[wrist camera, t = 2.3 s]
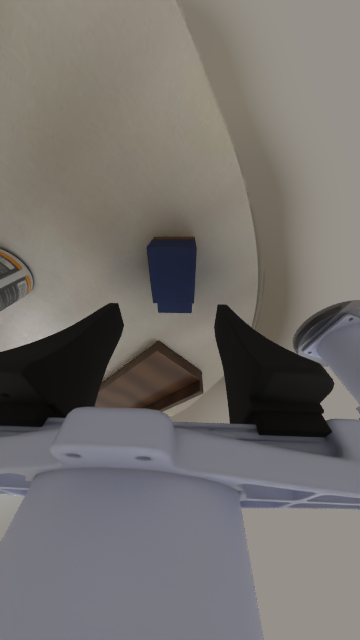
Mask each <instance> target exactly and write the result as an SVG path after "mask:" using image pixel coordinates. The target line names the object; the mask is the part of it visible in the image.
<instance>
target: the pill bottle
mask: <svg viewBox="0 0 360 640" xmlns="http://www.w3.org/2000/svg"><path fill="white" fill-rule="evenodd" d="M32 288H33V279H32V275H31V273H30V272H29V270H28V269H27V267H26V266H25V265H24V264H23V263H22V262H21V261H20V260H19V259H18V258H16V257H15V256H13V255H12V254H10V253H8V252H6V251H4V250H1V249H0V311H1V310H3V309H5V308H6V307H8V306H10V305H11V304H13V303H14V302H16V301H18V300H19V299H21V298H22V297H24V296H25V295H27V294H28V293H29V292H30V291H31V290H32Z"/></svg>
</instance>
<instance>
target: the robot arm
mask: <svg viewBox="0 0 360 640" xmlns="http://www.w3.org/2000/svg"><path fill="white" fill-rule="evenodd" d="M123 327H124V324H123V320H122V316H121V312H120V309H119V305H118V303H109V304H107V305H105V306H104V307H102V308H101V309H99V310H97V311H96V312H94V313H93V314H91V315H89V316H88V317H86V318H84V319H83V320H81V321H79V322H77V323H76V324H74V325H72V326H70V327H68V328H66V329H64V330H62V331H60V332H58V333H55V334H53V335H51V336H48V337H46V338H43V339H41V340H38V341H35V342H32V343H30V344H27V345H23V346H20V347H17V348H14V349H10V350H7V351H3V352H0V494H9V495H20V496H25V497H24V499H23V501H22V503H21V505H20V507H19V509H18V510H17V512H16V514H15V516H14V518H13V520H12V522H11V523H10V525H9V527H8V529H7V531H6V533H5V535H4V537H3V538H2V540H1V542H0V640H264V639H263V633H262V627H261V621H260V615H259V609H258V604H257V598H256V592H255V586H254V580H253V575H252V569H251V563H250V558H249V552H248V546H247V540H246V534H245V528H244V522H243V516H242V511H241V508H309V509H311V508H312V509H317V508H318V509H352V510H360V418H359V420H354V419H353V420H352V419H330V420H327V421H325V419H324V418H323V416H322V413H324V410H323V408H322V406H321V405H320V403H321V401H323V399H324V398H325V397H326V396H327V395H328V394H329V393H330V392H331V391H332V389H333V387H334V382H333V379H332V378H331V377H330V376H329V374H328V373H327V372H326V370H325V369H324V368H323V367H322V365H321V364H320V363H318V362H315V361H313V360H310V359H308V358H305V357H303V356H300V355H298V354H295V353H294V352H291V351H289V350H287V349H285V348H283V347H281V346H279V345H278V344H276V343H273V342H272V341H270V340H269V339H267V338H265V337H264V336H262V335H261V334H260V333H258V332H257V331H255V330H254V329H253V328H251V327H250V326H249V325H248V324H246V323H245V322H244V321H243V320H242V319H241V318H240V317H239V316H237V315H236V314H235V313H234V312H233V311H232V310H231V309H230V308H229V307H228V306H227V305H218V306H217V313H216V319H215V326H214V328H215V337H216V342H217V346H218V350H219V353H220V357H221V361H222V365H223V370H224V376H225V383H226V391H227V399H228V407H229V417H230V424H224V423H223V424H222V423H195V422H172V420H171V419H170V417H169V416H168V415H167V414H165V413H162V412H160V411H158V410H152V409H145V408H114V407H95V403H96V400H97V396H98V392H99V389H100V386H101V382H102V379H103V376H104V373H105V370H106V368H107V365H108V363H109V360H110V358H111V356H112V354H113V352H114V350H115V348H116V346H117V344H118V341H119V339H120V337H121V334H122V331H123ZM303 353H304V354H307V355H310V356H314V357H317V358H320V359H323V360H324V362H325V363H326V364H327V365H328V366H329V368H330V369H331V370H332V371H333V372H334V374H335V375H336V376H337V377H338V378H339V380H340V381H341V382H342V383H343V385H344V386H345V387H346V388H347V390H348V391H349V392H350V393H351V394H352V395H353V397H354V398H355V399H356V400H357V401H358V403H359V404H360V318H359V317H356V316H354V315H351V314H345V315H343V316H342V317H341V318H340V319H339V320H337V321H336V322H335V323H334V324H333V325H331V326H330V327H329V328H328V329H327V330H326V331H324V332H323V333H322V334H321V335H320V336H318V337H317V338H316V339H315V340H314V341H313V342H311V343H310V344H309V345H308V346H307V347H305V348H304V349H303ZM356 409H357V410H358V411H359V413H360V406H359V407H357V408H356Z"/></svg>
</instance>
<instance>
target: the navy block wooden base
mask: <svg viewBox="0 0 360 640" xmlns="http://www.w3.org/2000/svg"><path fill="white" fill-rule="evenodd" d="M196 249H197V248H196V242H195V237H154V238H153V240H152V241H151V242H150V244H149V245H148V246H147V255H148V264H149V272H150V281H151V289H152V298H153V303H157V305H158V312H159V313H191V312H192V303H194V288H195V269H196Z"/></svg>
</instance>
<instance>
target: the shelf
mask: <svg viewBox="0 0 360 640" xmlns="http://www.w3.org/2000/svg"><path fill="white" fill-rule="evenodd" d="M200 394H203V382H202V372H201V371H200V370H199V369H197V368H196V367H194V366H193V365H192V364H190V363H189V362H187V361H186V360H185V359H183V358H182V357H180V356H179V355H178V354H176V353H175V352H173V351H172V350H171V349H169V348H168V347H166V346H165V345H164V344H162V343H161V342H159V341H158V342H157V343H156V344H154V345H153V346H151V347H150V348H149V349H147V350H146V351H145V352H143V353H142V354H141V355H139V356H138V357H137V358H135V359H134V360H133V361H131V362H130V363H129V364H127V365H126V366H124V367H123V368H122V369H120V370H119V371H118V372H116V373H115V374H114V375H112V376H111V377H110V378H108V379H107V380H106V381H104V382H103V383H102V384H101V386H100V389H99V392H98V396H97V400H96V403H95V407H114V408H145V409H152V410H158V411H160V412H163V411H165V410H167V409H170V408H172V407H174V406H176V405H178V404H181V403H183V402H185V401H187V400H189V399H192V398H194V397H196V396H198V395H200Z"/></svg>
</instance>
